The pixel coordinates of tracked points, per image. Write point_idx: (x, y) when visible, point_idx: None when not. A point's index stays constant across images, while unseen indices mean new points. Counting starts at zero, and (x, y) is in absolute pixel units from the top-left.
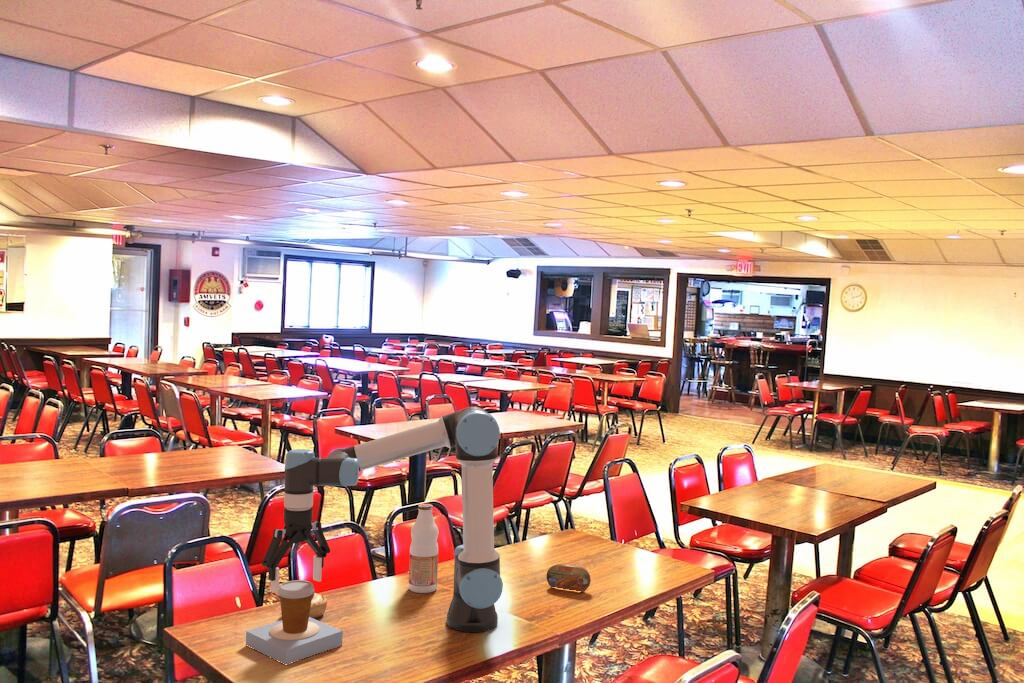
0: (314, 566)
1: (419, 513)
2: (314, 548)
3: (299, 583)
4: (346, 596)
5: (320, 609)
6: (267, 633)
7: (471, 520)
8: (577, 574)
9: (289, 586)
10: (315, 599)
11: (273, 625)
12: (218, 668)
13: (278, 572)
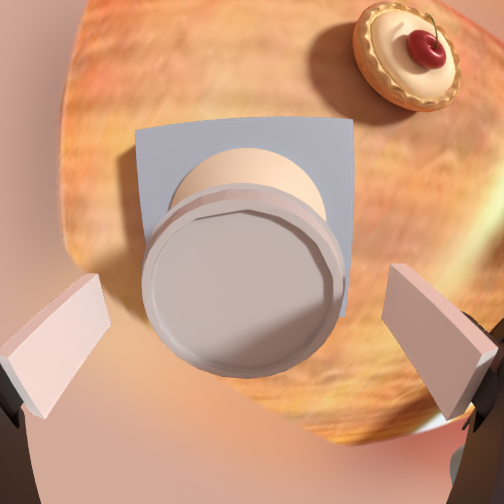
0: (430, 320)
1: None
2: (456, 494)
3: (291, 264)
4: (499, 72)
5: (421, 111)
6: (171, 189)
7: None
8: None
9: (208, 271)
10: (432, 83)
11: (221, 139)
12: (63, 217)
13: (52, 398)
